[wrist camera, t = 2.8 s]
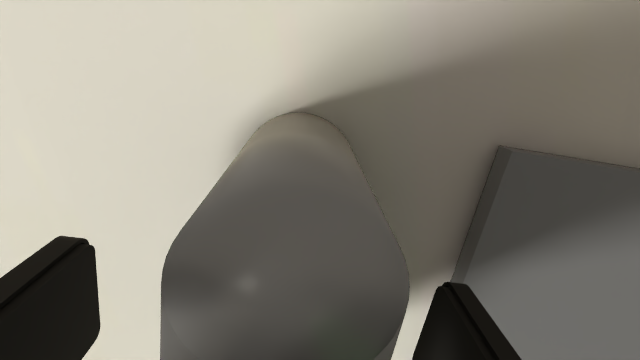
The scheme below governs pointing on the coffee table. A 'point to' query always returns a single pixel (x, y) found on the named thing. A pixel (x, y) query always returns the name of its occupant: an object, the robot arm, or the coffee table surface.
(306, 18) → the coffee table surface
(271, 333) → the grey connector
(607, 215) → the charcoal mat
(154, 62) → the coffee table surface
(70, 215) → the coffee table surface
